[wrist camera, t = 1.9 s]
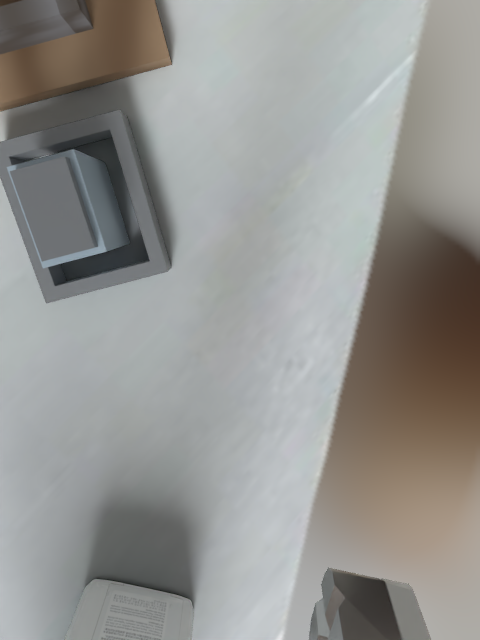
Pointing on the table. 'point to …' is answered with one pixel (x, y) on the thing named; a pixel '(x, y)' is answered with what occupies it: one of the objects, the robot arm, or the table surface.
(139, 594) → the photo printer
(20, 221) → the grey rectangular frame
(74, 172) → the plug
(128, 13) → the dock
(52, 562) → the table surface
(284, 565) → the table surface
